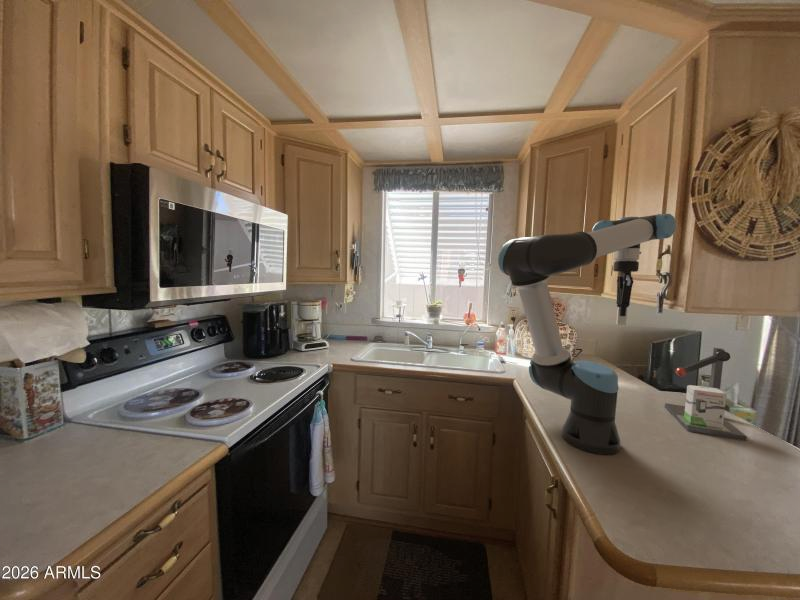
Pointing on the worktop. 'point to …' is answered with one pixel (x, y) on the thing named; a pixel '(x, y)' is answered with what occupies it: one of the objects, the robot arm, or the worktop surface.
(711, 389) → the ink box
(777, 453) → the worktop surface
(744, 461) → the worktop surface
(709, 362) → the lever
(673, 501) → the worktop surface
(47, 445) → the worktop surface
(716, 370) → the press
